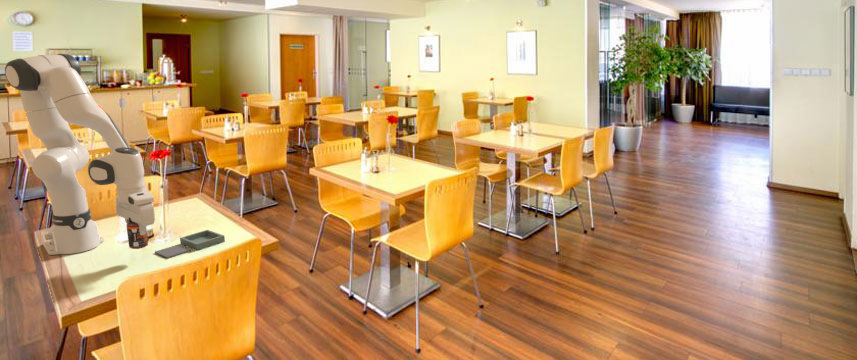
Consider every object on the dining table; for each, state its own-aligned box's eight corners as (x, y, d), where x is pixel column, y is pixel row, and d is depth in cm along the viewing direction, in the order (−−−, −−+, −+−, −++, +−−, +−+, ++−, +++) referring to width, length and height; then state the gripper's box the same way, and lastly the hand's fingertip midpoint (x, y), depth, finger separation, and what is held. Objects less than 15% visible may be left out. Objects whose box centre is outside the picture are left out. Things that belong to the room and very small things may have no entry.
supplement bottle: (140, 250, 184) (136, 219, 181) (125, 248, 185) (120, 218, 182) (152, 244, 190) (148, 214, 187) (137, 242, 191) (133, 212, 188)
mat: (154, 253, 196) (154, 251, 195) (178, 245, 203) (178, 244, 202) (167, 258, 190) (167, 257, 190) (191, 251, 197) (191, 249, 197)
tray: (180, 243, 205) (179, 237, 204) (208, 235, 214) (207, 229, 213) (197, 250, 198) (196, 244, 197) (224, 241, 207) (224, 235, 207)
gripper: (108, 191, 186) (113, 228, 189) (137, 201, 175) (142, 241, 178) (127, 187, 191) (131, 224, 194) (156, 197, 180) (160, 236, 183)
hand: (137, 232), depth 186 cm, fingers closed on supplement bottle, 6 cm apart
